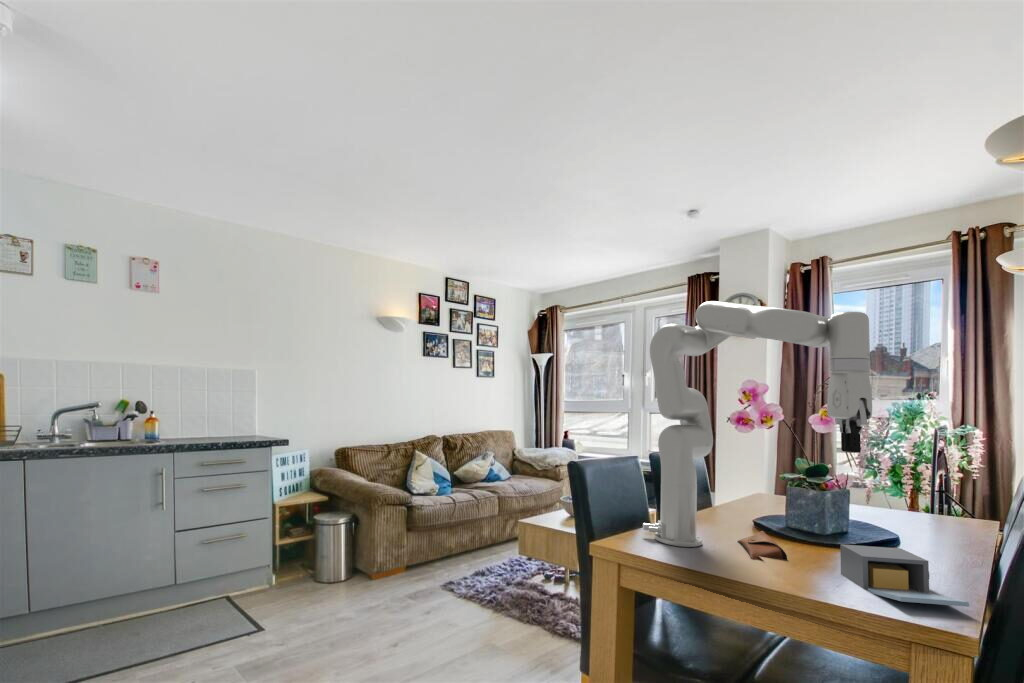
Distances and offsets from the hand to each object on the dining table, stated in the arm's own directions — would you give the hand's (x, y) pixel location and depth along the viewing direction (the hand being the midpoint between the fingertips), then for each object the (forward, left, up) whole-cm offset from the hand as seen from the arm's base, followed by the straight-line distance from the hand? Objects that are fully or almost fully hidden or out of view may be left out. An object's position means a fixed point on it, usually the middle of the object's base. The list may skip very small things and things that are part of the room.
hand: (850, 451), depth 115 cm
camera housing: (+8, +3, -29) cm, 30 cm away
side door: (+8, -2, -28) cm, 29 cm away
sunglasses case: (-10, +26, -30) cm, 41 cm away
